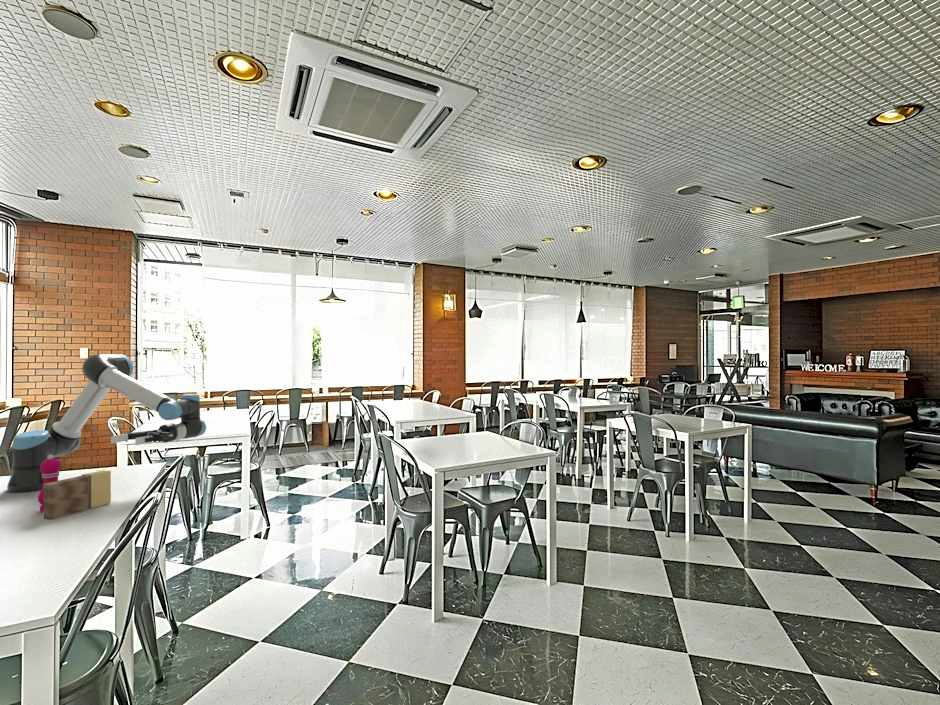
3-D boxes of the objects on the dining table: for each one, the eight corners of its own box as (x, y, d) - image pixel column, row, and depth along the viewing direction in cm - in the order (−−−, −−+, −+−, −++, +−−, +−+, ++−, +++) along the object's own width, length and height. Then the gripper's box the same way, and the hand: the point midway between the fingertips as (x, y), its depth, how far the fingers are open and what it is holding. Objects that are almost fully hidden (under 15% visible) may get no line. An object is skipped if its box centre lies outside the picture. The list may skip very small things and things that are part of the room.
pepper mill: (49, 513, 184) (48, 457, 184) (32, 512, 185) (32, 456, 185) (68, 507, 191) (68, 453, 191) (52, 506, 192) (52, 452, 192)
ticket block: (80, 508, 189) (80, 476, 189) (87, 509, 188) (87, 476, 188) (43, 518, 178) (43, 483, 178) (51, 520, 177) (51, 485, 176)
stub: (103, 501, 197) (103, 470, 197) (110, 502, 196) (110, 470, 196) (81, 507, 190) (81, 474, 190) (89, 508, 188) (88, 475, 188)
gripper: (193, 442, 218) (146, 452, 198) (150, 439, 226) (101, 448, 206) (193, 424, 218) (146, 432, 198) (150, 422, 226) (101, 429, 206)
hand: (123, 440), depth 202 cm, fingers open, 13 cm apart
